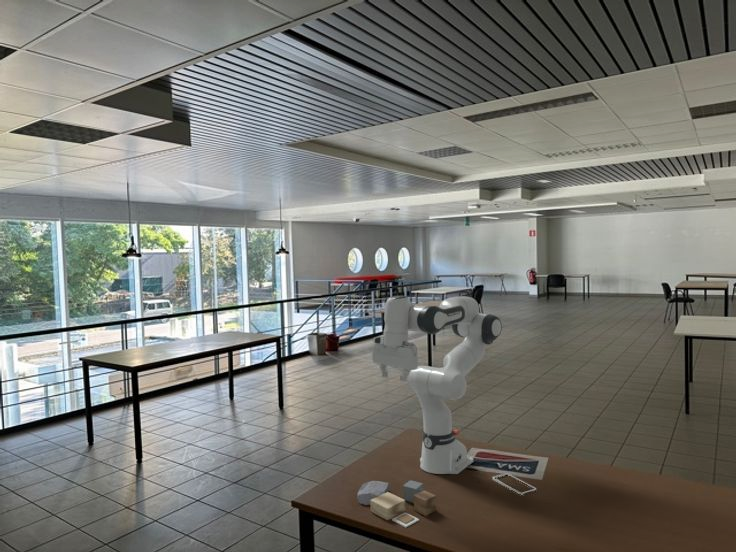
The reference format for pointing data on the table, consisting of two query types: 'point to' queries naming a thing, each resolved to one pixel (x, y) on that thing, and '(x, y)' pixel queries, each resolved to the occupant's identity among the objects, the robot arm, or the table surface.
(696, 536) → the table surface
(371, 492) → the stone block
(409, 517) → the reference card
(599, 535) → the table surface
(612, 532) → the table surface
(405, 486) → the slate cube
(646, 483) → the table surface
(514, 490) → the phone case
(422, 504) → the walnut cube
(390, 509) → the oak base block
